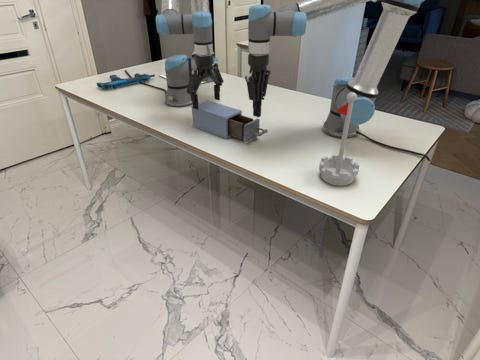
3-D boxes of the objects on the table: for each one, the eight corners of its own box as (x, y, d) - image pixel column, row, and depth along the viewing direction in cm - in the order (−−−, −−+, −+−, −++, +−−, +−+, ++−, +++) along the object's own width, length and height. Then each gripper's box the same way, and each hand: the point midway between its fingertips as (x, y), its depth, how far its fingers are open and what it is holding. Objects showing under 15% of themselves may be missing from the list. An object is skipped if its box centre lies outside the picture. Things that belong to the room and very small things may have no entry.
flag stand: (341, 164, 125) (356, 83, 108) (364, 182, 115) (385, 96, 98) (310, 171, 121) (321, 88, 105) (331, 190, 111) (347, 102, 94)
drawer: (269, 139, 141) (270, 122, 136) (257, 147, 135) (257, 129, 131) (225, 124, 154) (225, 108, 150) (211, 130, 148) (211, 114, 144)
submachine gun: (140, 68, 226) (159, 74, 209) (142, 73, 228) (160, 80, 211) (89, 77, 207) (104, 85, 190) (90, 84, 209) (106, 92, 192)
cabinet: (241, 131, 150) (241, 110, 145) (226, 138, 143) (226, 117, 138) (208, 119, 161) (207, 100, 155) (193, 126, 154) (191, 106, 149)
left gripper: (217, 47, 148) (219, 94, 160) (174, 58, 132) (179, 110, 144) (230, 49, 144) (231, 97, 156) (187, 62, 128) (192, 114, 140)
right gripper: (261, 48, 127) (259, 108, 140) (238, 55, 119) (239, 118, 131) (277, 51, 123) (274, 113, 136) (255, 58, 115) (254, 123, 127)
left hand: (206, 103), depth 150 cm, fingers open, 13 cm apart
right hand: (256, 115), depth 134 cm, fingers closed
